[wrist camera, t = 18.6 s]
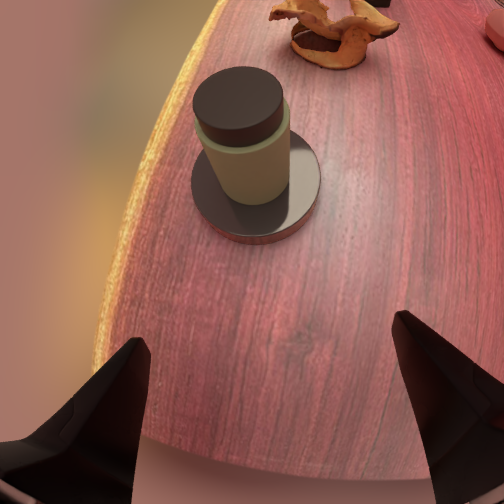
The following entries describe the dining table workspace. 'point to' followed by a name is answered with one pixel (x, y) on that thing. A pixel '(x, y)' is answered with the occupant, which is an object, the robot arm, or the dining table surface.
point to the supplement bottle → (500, 2)
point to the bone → (336, 30)
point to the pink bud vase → (496, 28)
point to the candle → (379, 3)
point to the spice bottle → (245, 132)
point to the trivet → (264, 215)
